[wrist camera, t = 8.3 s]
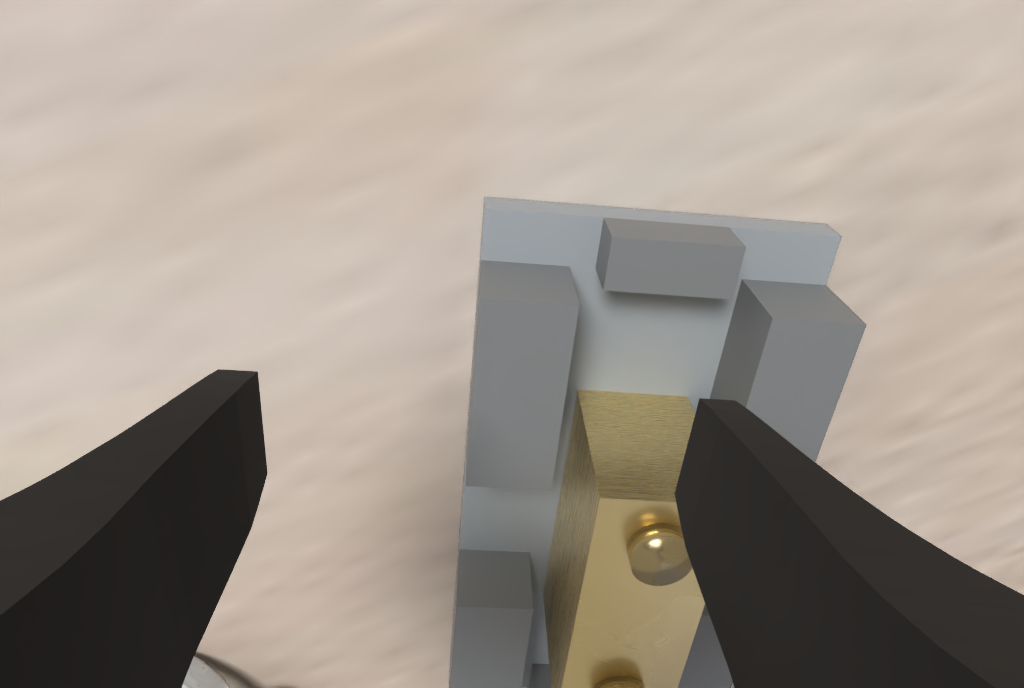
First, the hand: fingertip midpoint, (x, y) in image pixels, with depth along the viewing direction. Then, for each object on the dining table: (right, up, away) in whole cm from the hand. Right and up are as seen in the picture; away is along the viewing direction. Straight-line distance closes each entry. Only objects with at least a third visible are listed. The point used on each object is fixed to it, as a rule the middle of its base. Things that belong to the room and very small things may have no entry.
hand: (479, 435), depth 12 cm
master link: (+4, -4, +12) cm, 14 cm away
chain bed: (+4, -3, +13) cm, 14 cm away
